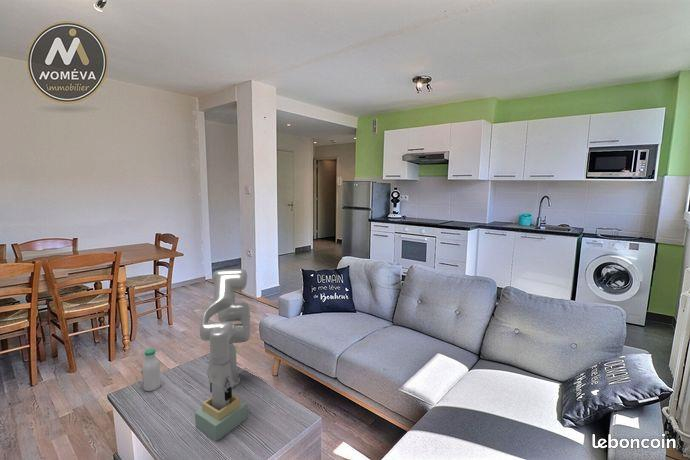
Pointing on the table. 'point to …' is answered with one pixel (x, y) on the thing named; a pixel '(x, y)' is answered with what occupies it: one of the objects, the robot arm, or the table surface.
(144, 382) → the milk bottle
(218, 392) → the skincare box
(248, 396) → the table surface
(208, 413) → the green yellow rimmed box
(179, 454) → the table surface
